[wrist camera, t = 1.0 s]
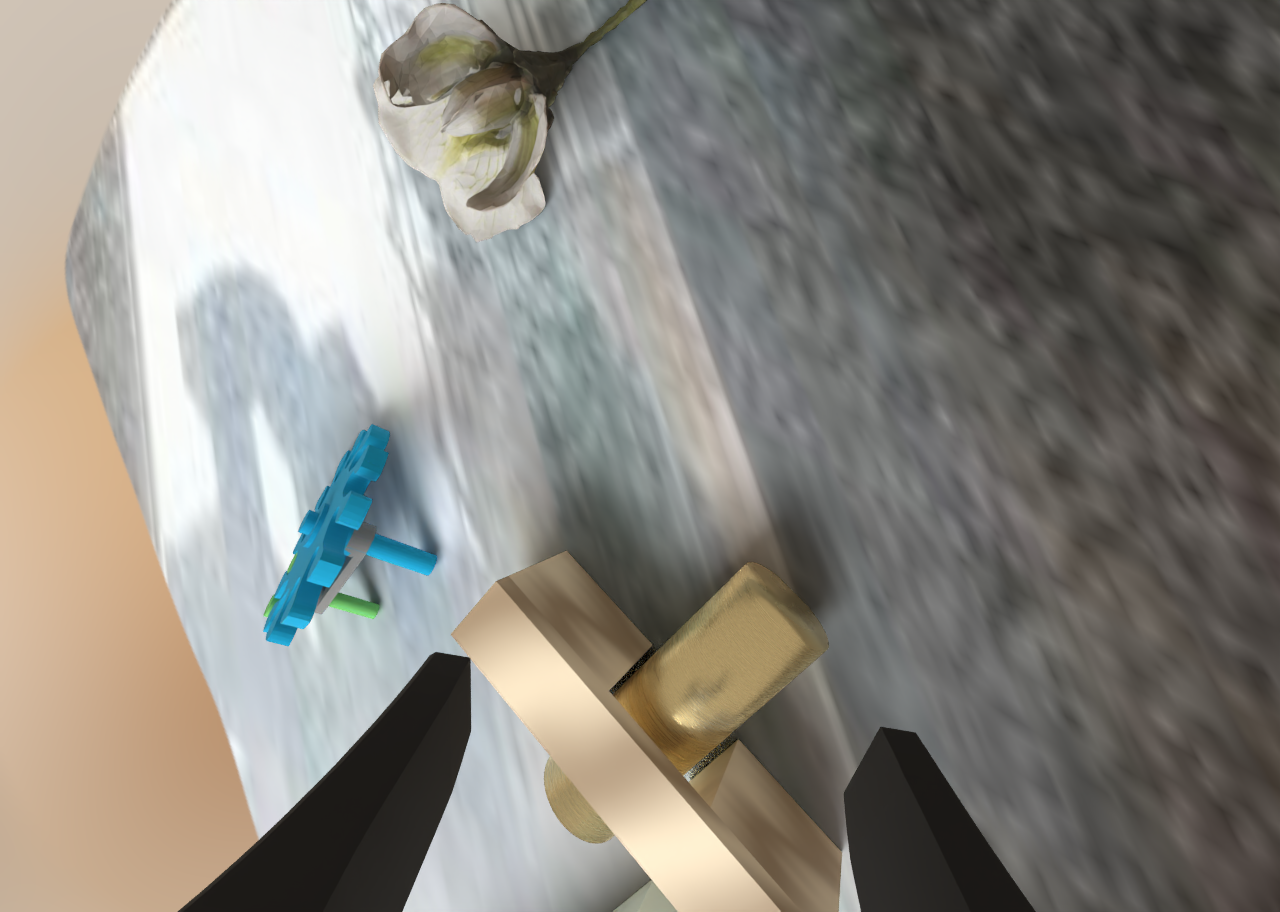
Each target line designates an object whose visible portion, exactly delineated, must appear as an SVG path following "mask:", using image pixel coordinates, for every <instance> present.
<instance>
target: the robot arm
mask: <svg viewBox="0 0 1280 912" xmlns="http://www.w3.org/2000/svg"><path fill="white" fill-rule="evenodd" d="M470 733H471V668H470V658H468V657H462V656H457V655H451V654H445V653H439V652H435V653H433V654H432V655H430V656H429V657H428V659H427V660H426V661H425V662H424V664H423V665H422V666H421V668H420V669H419V670H418V671H417V673H416V674H415V675H414V676H413V677H412V679H411V680H410V681H409V682H408V684H407V685H406V686H405V687H404V688H403V690H402V691H401V692H400V693H399V694H398V696H397V697H396V698H395V699H394V700H393V702H392V703H391V704H390V705H389V706H388V707H387V708H386V710H385V711H384V712H383V713H382V714H381V715H380V716H379V718H378V719H377V720H376V721H375V722H374V723H373V724H372V726H371V727H370V728H369V729H368V730H367V731H366V732H365V733H364V734H363V735H362V736H361V737H360V739H359V740H358V741H357V742H356V743H355V744H354V745H353V746H352V747H351V748H350V749H349V750H348V752H347V753H346V754H345V755H344V756H343V757H342V758H341V759H340V760H339V761H338V762H337V763H336V765H335V766H334V767H333V768H332V769H331V770H330V771H329V772H328V773H327V774H326V775H325V776H324V777H323V778H322V779H321V780H320V781H319V782H318V783H317V784H316V785H315V786H314V787H313V788H312V789H311V790H310V791H309V792H308V793H307V794H306V795H305V796H304V797H303V798H302V799H301V800H300V801H299V802H298V803H297V804H296V805H295V806H294V807H293V808H292V809H291V810H290V811H289V812H288V813H287V814H286V815H285V816H284V817H283V818H282V819H281V820H280V821H279V822H278V823H277V824H276V825H274V826H273V827H272V828H271V829H270V830H269V831H268V832H267V833H266V834H265V835H264V836H263V837H262V838H261V839H260V840H259V841H257V842H256V843H255V844H254V845H253V846H252V847H251V848H250V849H249V850H248V851H247V852H245V853H244V854H243V855H242V856H241V857H240V858H239V859H238V860H237V861H236V862H234V863H233V864H232V865H231V866H230V867H229V868H228V869H227V870H225V871H224V872H223V873H222V874H221V875H220V876H219V877H218V878H216V879H215V880H214V881H213V882H212V883H211V884H210V885H209V886H208V887H206V888H205V889H204V890H203V891H202V892H200V894H198V895H197V896H196V897H194V898H193V899H192V900H191V901H190V902H189V903H187V904H186V905H185V906H184V907H183V908H181V909H180V910H179V911H178V912H402V911H403V909H404V906H405V904H406V901H407V899H408V897H409V894H410V892H411V890H412V887H413V885H414V882H415V880H416V878H417V875H418V873H419V870H420V868H421V866H422V863H423V861H424V859H425V856H426V854H427V851H428V849H429V847H430V844H431V842H432V840H433V837H434V835H435V832H436V830H437V827H438V825H439V823H440V820H441V818H442V815H443V813H444V811H445V808H446V806H447V803H448V801H449V798H450V796H451V794H452V791H453V788H454V785H455V781H456V778H457V775H458V772H459V769H460V766H461V762H462V759H463V756H464V752H465V749H466V746H467V743H468V739H469V736H470ZM844 804H845V815H846V825H847V835H848V843H849V852H850V860H851V865H852V870H853V875H854V880H855V884H856V889H857V894H858V899H859V903H860V908H861V912H1036V911H1035V910H1034V909H1033V907H1032V906H1031V904H1030V903H1029V902H1028V900H1027V899H1026V897H1025V896H1024V895H1023V893H1022V892H1021V890H1020V889H1019V887H1018V886H1017V885H1016V883H1015V882H1014V880H1013V879H1012V877H1011V876H1010V874H1009V873H1008V872H1007V870H1006V869H1005V867H1004V866H1003V864H1002V863H1001V861H1000V860H999V858H998V857H997V856H996V854H995V853H994V851H993V850H992V848H991V847H990V845H989V844H988V842H987V841H986V839H985V838H984V836H983V835H982V833H981V832H980V830H979V829H978V827H977V826H976V824H975V823H974V821H973V820H972V818H971V817H970V815H969V814H968V812H967V811H966V809H965V808H964V806H963V805H962V803H961V802H960V800H959V799H958V797H957V795H956V794H955V792H954V791H953V789H952V788H951V786H950V785H949V783H948V782H947V780H946V778H945V777H944V775H943V774H942V772H941V771H940V769H939V768H938V766H937V765H936V763H935V761H934V760H933V758H932V757H931V755H930V754H929V752H928V751H927V749H926V748H925V746H924V745H923V743H922V742H921V740H920V739H919V737H918V736H917V734H916V733H915V732H909V731H903V730H897V729H891V728H885V727H880V729H879V731H878V732H877V734H876V736H875V738H874V740H873V741H872V743H871V745H870V747H869V749H868V750H867V752H866V754H865V756H864V758H863V759H862V761H861V763H860V765H859V767H858V768H857V770H856V772H855V774H854V776H853V777H852V779H851V781H850V783H849V785H848V786H847V788H846V790H845V792H844Z"/></svg>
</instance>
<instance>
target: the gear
mask: <svg viewBox="0 0 1280 912" xmlns="http://www.w3.org/2000/svg"><path fill="white" fill-rule="evenodd" d="M389 437H390V432H389V431H387V430H384V429H382V428H380V427H378V426H375V425H373V424H372V425H371V426H370V428H369V429H368V431H365V430H362V431H361V432H360V434H359V436H358V437H357V439H356V442H355V444H354V446H353V448H352V451H349V450H348V451H347V452H346V454H345V455H344V457H343V458H342V460H341V461H340V463H339V466H338V468H337V471H336V474H335V477H334V479H333V482H332V484H331V486H330V487H329V486H327V487H326V488H325V490H324V491H323V493H322V495H321V497H320V498H319V500H318V502H317V504H316V507H315V512H314V511H311V510H309V511H308V512H307V514H306V516H305V517H304V519H303V521H302V523H301V526H300V528H299V531H298V532H300V533H302V535H301V537H300V539H299V541H298V543H297V545H296V547H295V549H294V551H293V554H295V556H294V558H293V560H292V561H291V564H290V566H289V568H288V571H286V572H285V574H284V575H283V577H282V579H281V582H280V584H279V586H278V588H277V591H276V593H275V594H274V595H273V596H272V598H271V600H270V602H269V604H268V606H267V608H266V610H265V613H264V616H265V617H268V618H267V621H266V624H265V627H264V630H263V632H267V635H266V640H267V641H269V642H273V643H277V644H281V645H285V646H289V645H290V643H291V641H292V639H293V637H294V635H295V633H296V630H297V628H300V629H304V628H305V627H306V626H307V625H308V624H309V623H310V621H311V619H312V617H313V614H314V612H315V613H318V614H323V612H324V611H325V610H326V608H327V607H328V606H330V607H333V608H337V609H340V610H344V611H347V612H351V613H354V614H358V615H361V616H365V617H368V618H372V619H374V618H375V616H376V615H377V613H378V610H379V604H375V603H372V602H369V601H365V600H362V599H359V598H355V597H352V596H348V595H345V594H342V593H338V592H339V591H340V589H341V588H342V587H343V585H344V584H345V583H346V581H347V580H348V578H349V577H350V576H351V574H352V573H353V572H354V570H355V569H356V568H357V566H358V565H359V563H360V562H361V561H362V559H363V558H364V557H365V555H368V556H371V557H374V558H377V559H380V560H383V561H386V562H389V563H392V564H395V565H398V566H401V567H404V568H407V569H409V570H412V571H415V572H418V573H421V574H424V575H429V574H430V573H431V572H432V570H433V569H434V566H435V564H436V560H437V556H436V555H434V554H431V553H428V552H425V551H423V550H420V549H417V548H414V547H411V546H409V545H406V544H403V543H400V542H398V541H395V540H392V539H389V538H386V537H384V536H381V535H378V534H376V529H377V528H376V526H373V525H370V524H368V523H365V522H363V520H364V518H365V516H366V514H367V512H368V510H369V508H370V506H371V503H372V499H371V498H368V497H366V496H363V495H364V493H365V491H366V488H367V487H368V485H369V483H370V482H371V480H372V481H374V482H375V481H376V480H377V479H378V478H379V476H380V475H381V473H382V471H383V468H384V466H385V463H386V460H387V457H388V454H389V453H388V452H386V451H384V449H385V447H386V446H387V444H388V441H389Z"/></svg>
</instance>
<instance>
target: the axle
mask: <svg viewBox="0 0 1280 912" xmlns="http://www.w3.org/2000/svg"><path fill="white" fill-rule="evenodd" d="M828 648H829V642H828V638H827V635H826V633H825V631H824V629H823V627H822V625H821V624H820V622H819V621H818V619H817V618H816V616H815V615H814V613H813V612H812V611H811V609H810V608H809V607H808V606H807V605H806V604H805V603H804V602H803V601H802V600H801V599H800V598H799V597H798V596H797V595H796V594H795V593H794V592H793V591H792V590H791V589H790V588H789V587H788V586H787V585H786V584H785V583H784V582H783V581H782V580H781V579H780V578H779V577H778V576H777V575H776V574H774V573H773V572H772V571H770V570H769V569H767V568H765V567H764V566H762V565H760V564H757V563H754V562H748V563H746V564H745V565H744V566H743V567H742V568H741V569H740V570H739V571H738V572H737V573H736V574H735V575H734V576H733V577H732V578H731V579H730V580H729V581H728V582H727V583H726V584H725V585H724V586H723V587H722V588H721V589H720V590H719V591H718V592H717V593H716V594H715V595H714V596H713V597H712V598H711V599H709V600H708V601H707V602H706V603H705V604H704V605H703V606H702V607H701V608H700V609H699V610H698V611H697V612H696V613H695V614H694V615H693V616H692V617H691V618H690V619H689V620H688V621H687V622H686V623H685V624H684V625H683V626H682V627H681V628H680V629H679V630H678V631H677V632H676V633H675V634H674V635H673V636H672V637H671V638H670V639H669V640H668V641H667V642H666V643H665V644H664V645H663V646H662V647H661V648H660V649H659V650H658V651H656V652H655V653H654V654H653V655H652V656H651V657H650V658H649V659H648V660H647V661H646V662H645V663H644V664H643V665H642V666H641V667H640V668H639V669H638V670H637V671H636V672H635V673H634V674H633V675H632V676H631V677H630V678H629V679H628V680H627V681H626V682H625V683H624V684H623V685H622V686H621V687H620V688H619V689H618V690H617V691H616V692H615V693H614V694H613V696H614V697H615V698H616V700H617V701H618V702H619V703H620V704H621V705H622V707H623V708H624V709H625V710H626V711H627V712H628V713H629V715H630V716H631V717H632V718H633V719H634V720H635V721H636V723H637V724H638V725H639V726H640V727H641V728H642V729H643V731H644V732H645V733H646V734H647V735H648V736H649V737H650V739H651V740H652V741H653V742H654V743H655V744H656V746H657V747H658V748H659V749H660V750H661V751H662V752H663V754H664V755H665V756H666V757H667V758H668V759H669V760H670V762H671V763H672V764H673V765H674V766H675V767H676V768H677V770H678V771H679V772H680V773H681V774H682V775H684V774H686V773H687V772H688V771H689V770H690V769H691V768H692V767H694V766H695V765H696V764H697V763H698V762H699V761H700V760H702V759H703V758H704V757H705V756H706V755H707V754H708V753H710V752H711V751H712V750H713V749H714V748H715V747H716V746H718V745H719V744H720V743H721V742H722V741H723V740H724V739H726V738H727V737H728V736H729V735H730V734H731V733H733V732H734V731H735V730H736V729H737V728H738V727H739V726H741V725H742V724H743V723H744V722H745V721H746V720H747V719H749V718H750V717H751V716H752V715H753V714H754V713H755V712H757V711H758V710H759V709H760V708H761V707H762V706H763V705H765V704H766V703H767V702H768V701H769V700H770V699H771V698H773V697H774V696H775V695H776V694H777V693H778V692H779V691H781V690H782V689H783V688H784V687H785V686H786V685H787V684H789V683H790V682H791V681H792V680H793V679H794V678H796V677H797V676H798V675H799V674H800V673H801V672H802V671H804V670H805V669H806V668H807V667H808V666H809V665H810V664H812V663H813V662H814V661H815V660H816V659H817V658H818V657H820V656H821V655H822V654H823V653H824V652H825V651H826V650H827V649H828ZM544 785H545V791H546V794H547V798H548V801H549V803H550V806H551V808H552V810H553V812H554V813H555V815H556V817H557V818H558V819H559V821H560V822H561V823H562V824H563V826H564V827H565V828H566V829H567V830H568V831H569V832H571V833H572V834H573V835H575V836H576V837H578V838H579V839H581V840H583V841H586V842H589V843H603V842H606V841H608V840H610V839H611V838H612V837H613V836H615V834H614V833H613V832H612V831H611V829H610V828H609V827H608V826H607V825H606V823H605V822H604V821H603V820H602V818H601V817H600V816H599V815H598V814H597V812H596V811H595V810H594V809H593V807H592V806H591V805H590V804H589V803H588V801H587V800H586V799H585V798H584V796H583V795H582V794H581V793H580V792H579V790H578V789H577V788H576V787H575V786H574V784H573V783H572V782H571V781H570V779H569V778H568V777H567V776H566V775H565V773H564V772H563V771H562V770H561V768H560V767H559V766H558V765H557V764H556V762H555V761H554V760H553V759H552V757H551V756H550V757H549V759H548V761H547V763H546V766H545V771H544Z"/></svg>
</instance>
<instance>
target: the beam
mask: <svg viewBox="0 0 1280 912" xmlns="http://www.w3.org/2000/svg"><path fill="white" fill-rule="evenodd" d="M451 635H452V637H453V638H454V639H455V640H456V641H457V643H458V644H459V645H460V646H461V648H462V649H463V650H464V651H465V652H466V654H467V655H468V656H469V657H470V659H471V660H472V661H473V662H474V663H475V665H476V666H477V667H478V668H479V670H480V671H481V672H482V673H483V674H484V676H485V677H486V678H487V679H488V680H489V682H490V683H491V684H492V685H493V687H494V688H495V689H496V690H497V691H498V693H499V694H500V695H501V696H502V698H503V699H504V700H505V701H506V702H507V704H508V705H509V706H510V707H511V709H512V710H513V711H514V712H515V713H516V715H517V716H518V717H519V718H520V720H521V721H522V722H523V723H524V724H525V726H526V727H527V728H528V729H529V731H530V732H531V733H532V734H533V735H534V737H535V738H536V739H537V740H538V742H539V743H540V744H541V745H542V746H543V748H544V749H545V750H546V751H547V753H548V754H549V755H550V756H551V757H552V759H553V760H554V761H555V762H556V764H557V765H558V766H559V767H560V768H561V770H562V771H563V772H564V773H565V775H566V776H567V777H568V778H569V779H570V781H571V782H572V783H573V784H574V786H575V787H576V788H577V789H578V790H579V792H580V793H581V794H582V795H583V796H584V798H585V799H586V800H587V801H588V803H589V804H590V805H591V806H592V807H593V809H594V810H595V811H596V812H597V814H598V815H599V816H600V817H601V818H602V820H603V821H604V822H605V823H606V825H607V826H608V827H609V828H610V829H611V831H612V832H613V833H614V834H615V836H616V837H617V838H618V839H619V840H620V842H621V843H622V844H623V845H624V847H625V848H626V849H627V850H628V851H629V853H630V854H631V855H632V856H633V858H634V859H635V860H636V861H637V862H638V864H639V865H640V866H641V867H642V869H643V870H644V871H645V872H646V873H647V875H648V876H649V877H650V878H651V880H652V881H653V882H654V883H655V884H656V886H657V887H658V888H659V889H660V891H661V892H662V893H663V894H664V895H665V897H666V898H667V899H668V900H669V902H670V903H671V904H672V905H673V906H674V908H675V909H676V910H677V911H678V912H838V911H839V895H840V878H841V861H842V852H841V851H840V850H839V849H838V848H837V847H836V846H835V844H834V843H833V842H832V841H831V840H830V839H829V838H828V837H827V836H826V835H825V833H824V832H823V831H822V830H821V829H820V828H819V827H818V826H817V825H816V824H815V823H814V821H813V820H812V819H811V818H810V817H809V816H808V815H807V814H806V813H805V812H804V810H803V809H802V808H801V807H800V806H799V805H798V804H797V803H796V802H795V801H794V799H793V798H792V797H791V796H790V795H789V794H788V793H787V792H786V791H785V790H784V789H783V787H782V786H781V785H780V784H779V783H778V782H777V781H776V780H775V779H774V778H773V776H772V775H771V774H770V773H769V772H768V771H767V770H766V769H765V768H764V767H763V765H762V764H761V763H760V762H759V761H758V760H757V759H756V758H755V757H754V756H753V755H752V753H751V752H750V751H749V750H748V749H747V748H746V747H745V746H744V745H743V744H742V742H741V741H740V740H739V739H738V740H737V741H735V742H734V743H733V744H732V745H731V746H730V747H729V748H727V749H726V750H725V751H724V752H723V753H722V754H720V755H719V756H718V757H717V758H716V759H715V760H713V761H712V762H711V763H710V764H709V765H708V766H707V767H705V768H704V769H703V770H702V771H701V772H700V773H698V774H697V775H696V776H695V777H694V778H693V779H692V780H690V781H689V782H688V781H687V780H686V779H685V778H684V777H683V775H682V774H681V773H680V772H679V771H678V770H677V768H676V767H675V766H674V765H673V764H672V763H671V762H670V760H669V759H668V758H667V757H666V756H665V755H664V754H663V752H662V751H661V750H660V749H659V748H658V747H657V746H656V744H655V743H654V742H653V741H652V740H651V739H650V737H649V736H648V735H647V734H646V733H645V732H644V731H643V729H642V728H641V727H640V726H639V725H638V724H637V723H636V721H635V720H634V719H633V718H632V717H631V716H630V715H629V713H628V712H627V711H626V710H625V709H624V708H623V707H622V705H621V704H620V703H619V702H618V701H617V700H616V698H615V697H614V696H613V695H612V694H611V693H610V692H609V690H610V689H611V688H612V687H613V686H614V685H615V684H616V683H617V682H618V681H619V680H620V679H621V678H622V677H623V676H624V675H625V673H626V672H627V671H628V670H629V669H630V668H631V667H632V666H633V665H634V664H635V663H636V662H637V661H638V660H639V659H640V658H641V657H642V656H643V655H644V654H645V653H646V652H647V650H648V649H649V648H650V647H651V646H652V644H651V643H650V642H649V640H648V639H647V638H646V637H645V636H644V635H643V634H642V633H641V632H640V631H639V630H638V628H637V627H636V626H635V625H634V624H633V623H632V622H631V621H630V620H629V619H628V617H627V616H626V615H625V614H624V613H623V612H622V611H621V610H620V609H619V608H618V606H617V605H616V604H615V603H614V602H613V601H612V600H611V599H610V598H609V597H608V596H607V594H606V593H605V592H604V591H603V590H602V589H601V588H600V587H599V586H598V585H597V583H596V582H595V581H594V580H593V579H592V578H591V577H590V576H589V575H588V574H587V572H586V571H585V570H584V569H583V568H582V567H581V566H580V565H579V564H578V563H577V562H576V560H575V559H574V558H573V557H572V556H571V555H570V554H569V553H568V552H567V551H565V552H562V553H560V554H558V555H555V556H553V557H551V558H549V559H546V560H544V561H542V562H539V563H537V564H535V565H532V566H530V567H528V568H525V569H523V570H521V571H519V572H516V573H514V574H512V575H509V576H507V577H505V578H502V579H500V580H498V581H496V582H495V583H494V584H493V586H492V587H491V588H490V589H489V590H488V591H487V593H486V594H485V595H484V596H483V597H482V598H481V600H480V601H479V602H478V603H477V604H476V605H475V607H474V608H473V609H472V610H471V611H470V612H469V614H468V615H467V616H466V617H465V618H464V619H463V621H462V622H461V623H460V624H459V625H458V627H457V628H456V629H455V630H454V631H453V632H452V634H451Z"/></svg>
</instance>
